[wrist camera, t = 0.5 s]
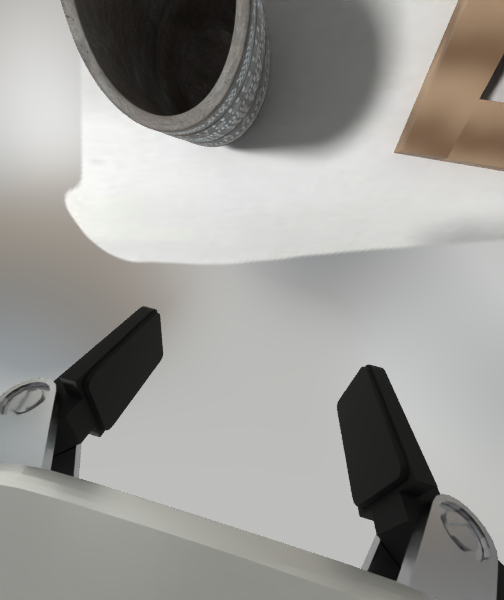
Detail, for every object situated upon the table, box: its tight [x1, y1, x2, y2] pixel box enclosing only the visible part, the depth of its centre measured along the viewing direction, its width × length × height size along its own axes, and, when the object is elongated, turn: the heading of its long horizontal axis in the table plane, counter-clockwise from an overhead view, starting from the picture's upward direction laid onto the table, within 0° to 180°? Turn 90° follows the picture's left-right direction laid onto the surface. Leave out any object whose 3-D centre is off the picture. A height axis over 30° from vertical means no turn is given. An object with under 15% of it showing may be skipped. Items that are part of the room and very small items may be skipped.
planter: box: [61, 0, 270, 147], centre depth 21 cm, size 14×14×15 cm
